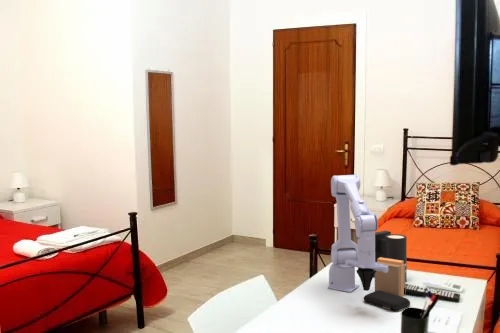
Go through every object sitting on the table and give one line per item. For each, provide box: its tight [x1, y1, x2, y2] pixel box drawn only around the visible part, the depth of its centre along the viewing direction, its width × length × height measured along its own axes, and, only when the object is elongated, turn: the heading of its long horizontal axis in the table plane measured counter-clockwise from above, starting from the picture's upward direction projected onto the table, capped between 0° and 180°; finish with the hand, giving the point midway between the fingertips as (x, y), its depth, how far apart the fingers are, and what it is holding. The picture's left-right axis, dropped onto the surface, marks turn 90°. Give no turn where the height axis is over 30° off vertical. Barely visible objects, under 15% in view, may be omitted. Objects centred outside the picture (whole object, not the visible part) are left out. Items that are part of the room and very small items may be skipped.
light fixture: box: [373, 229, 408, 283], centre depth 207 cm, size 10×14×18 cm
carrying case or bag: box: [363, 290, 411, 312], centre depth 180 cm, size 11×3×15 cm
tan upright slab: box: [374, 257, 406, 297], centre depth 190 cm, size 8×9×13 cm
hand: (366, 289), depth 173 cm, fingers closed
